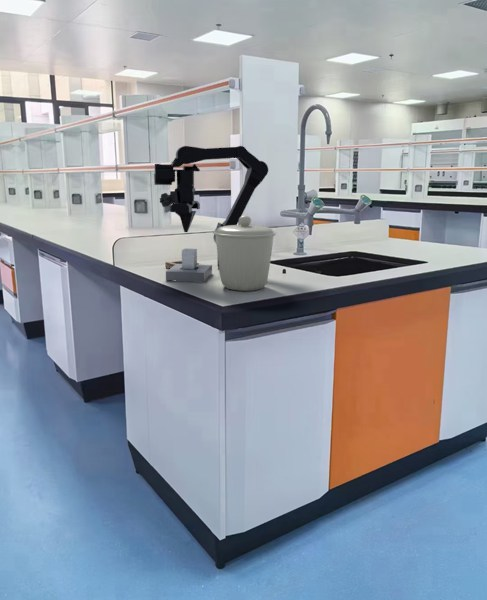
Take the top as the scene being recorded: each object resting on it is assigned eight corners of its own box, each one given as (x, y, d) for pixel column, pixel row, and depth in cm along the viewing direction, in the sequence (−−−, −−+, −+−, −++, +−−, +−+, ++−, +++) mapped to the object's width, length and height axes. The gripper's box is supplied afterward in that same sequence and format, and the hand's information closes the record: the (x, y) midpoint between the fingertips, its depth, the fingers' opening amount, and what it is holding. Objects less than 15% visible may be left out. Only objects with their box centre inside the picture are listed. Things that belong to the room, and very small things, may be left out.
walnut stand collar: (186, 265, 190) (185, 259, 190) (199, 268, 184) (198, 263, 183) (165, 267, 185) (165, 262, 185) (178, 271, 179) (178, 265, 178)
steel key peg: (185, 275, 171) (184, 248, 169) (197, 276, 171) (196, 248, 169) (182, 278, 168) (181, 250, 165) (194, 278, 167) (194, 250, 165)
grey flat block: (211, 273, 175) (211, 264, 175) (203, 282, 162) (203, 272, 161) (176, 272, 177) (176, 263, 176) (165, 280, 163) (165, 271, 162)
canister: (243, 278, 168) (244, 212, 163) (286, 287, 156) (289, 216, 151) (200, 287, 155) (200, 215, 150) (244, 297, 143) (246, 219, 138)
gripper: (168, 184, 185) (169, 228, 189) (154, 185, 167) (155, 234, 171) (200, 184, 184) (200, 229, 188) (188, 186, 166) (188, 235, 170)
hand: (186, 232), depth 179 cm, fingers closed
